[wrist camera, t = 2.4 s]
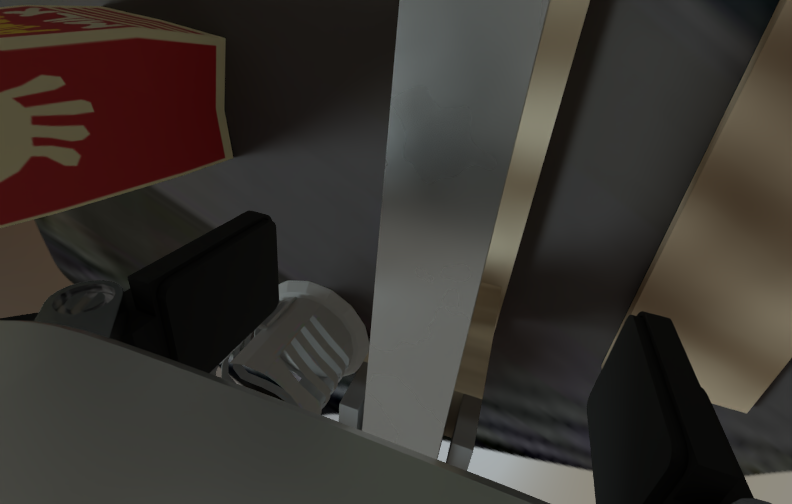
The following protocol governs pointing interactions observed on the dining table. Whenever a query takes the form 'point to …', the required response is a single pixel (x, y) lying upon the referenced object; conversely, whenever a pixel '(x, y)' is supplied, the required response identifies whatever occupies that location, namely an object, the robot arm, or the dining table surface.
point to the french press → (303, 346)
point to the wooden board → (735, 238)
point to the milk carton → (102, 106)
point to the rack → (501, 231)
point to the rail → (442, 199)
